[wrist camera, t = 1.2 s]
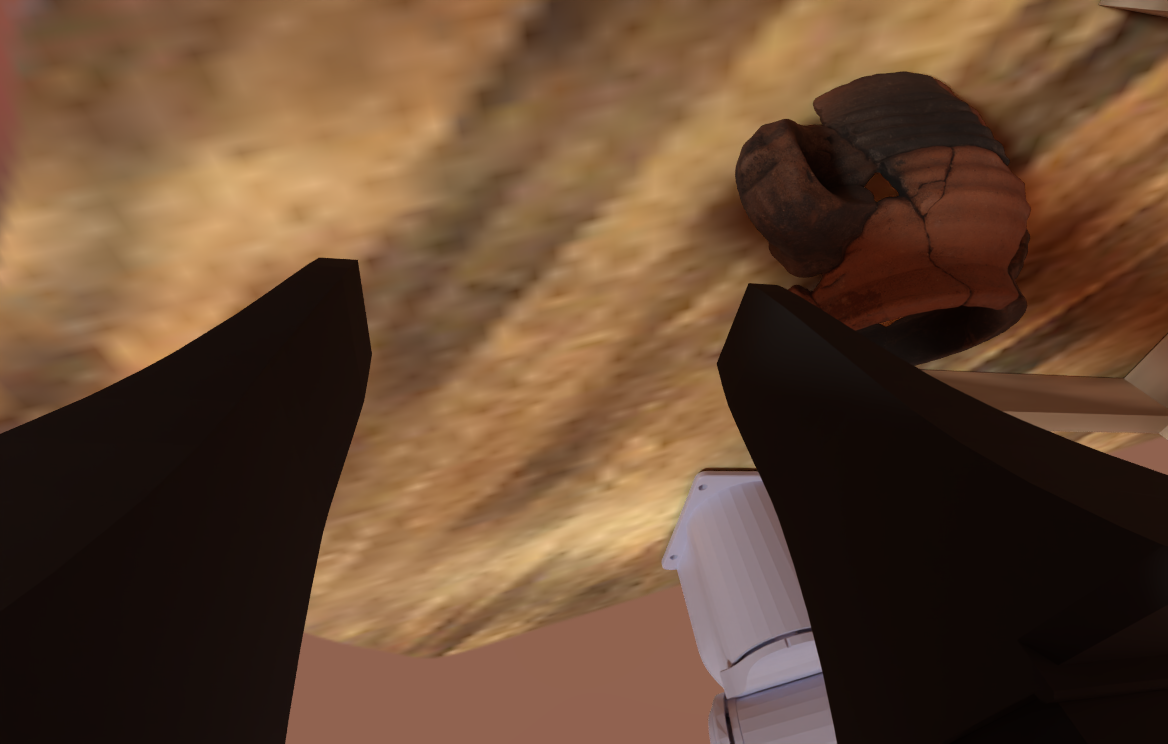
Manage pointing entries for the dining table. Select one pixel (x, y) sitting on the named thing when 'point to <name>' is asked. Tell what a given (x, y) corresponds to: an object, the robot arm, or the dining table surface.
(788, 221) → the pottery mug
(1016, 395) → the maple cradle
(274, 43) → the dining table surface
